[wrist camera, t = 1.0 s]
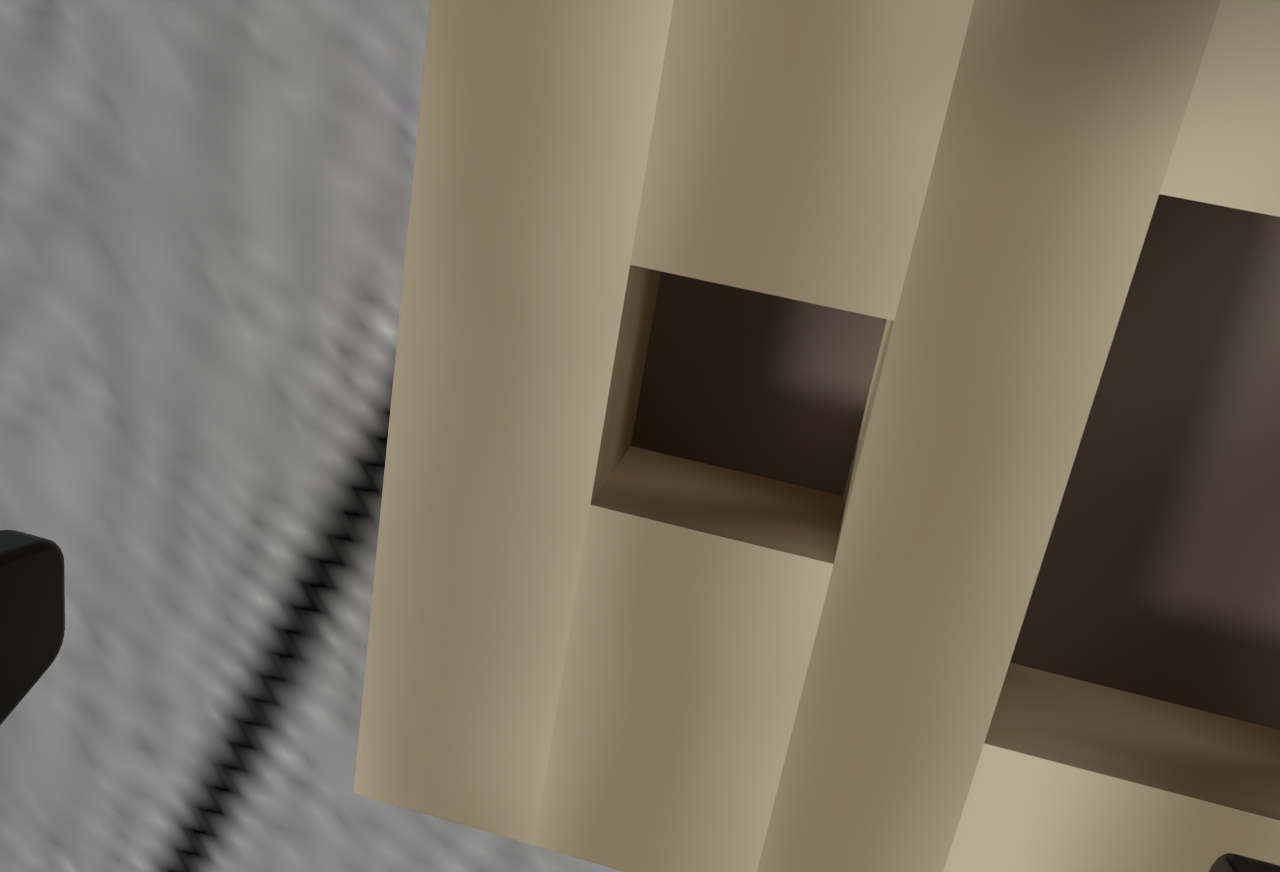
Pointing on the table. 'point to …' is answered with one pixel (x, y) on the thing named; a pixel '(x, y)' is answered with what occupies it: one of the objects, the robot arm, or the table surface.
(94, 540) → the table surface
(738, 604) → the block
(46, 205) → the table surface
